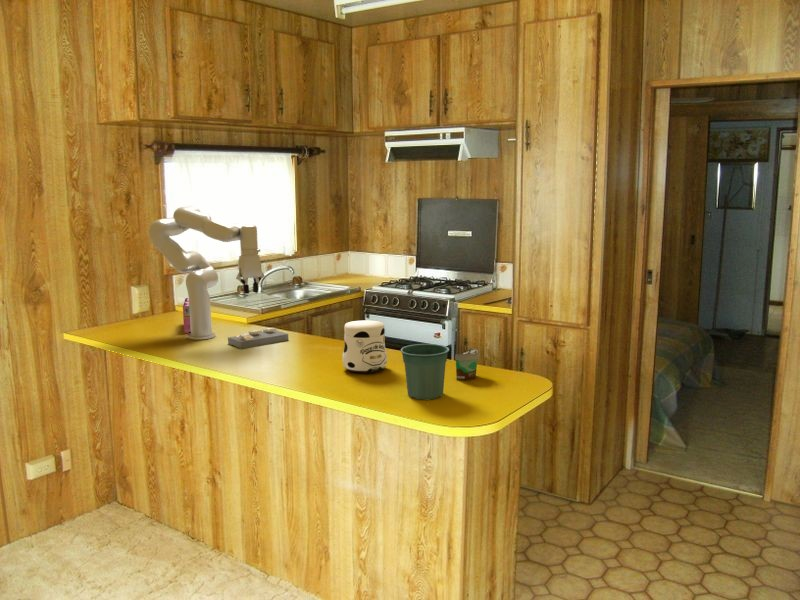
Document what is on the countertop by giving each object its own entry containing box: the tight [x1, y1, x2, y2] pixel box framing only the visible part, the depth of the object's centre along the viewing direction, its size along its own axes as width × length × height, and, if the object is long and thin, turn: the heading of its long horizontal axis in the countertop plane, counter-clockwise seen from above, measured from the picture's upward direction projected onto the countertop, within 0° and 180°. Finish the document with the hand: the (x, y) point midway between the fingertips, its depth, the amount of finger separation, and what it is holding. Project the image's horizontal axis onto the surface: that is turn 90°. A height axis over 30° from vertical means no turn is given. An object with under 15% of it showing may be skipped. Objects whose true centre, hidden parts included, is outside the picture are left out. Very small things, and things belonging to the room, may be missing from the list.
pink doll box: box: [182, 297, 191, 334], centre depth 353 cm, size 24×8×14 cm, turn 13°
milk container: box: [341, 320, 388, 374], centre depth 274 cm, size 17×17×18 cm
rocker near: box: [239, 332, 254, 341], centre depth 315 cm, size 6×4×2 cm, turn 40°
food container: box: [454, 347, 480, 382], centre depth 262 cm, size 12×6×10 cm, turn 148°
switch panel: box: [227, 329, 289, 350], centre depth 322 cm, size 12×24×3 cm, turn 130°
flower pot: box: [400, 343, 450, 401], centre depth 242 cm, size 16×16×16 cm
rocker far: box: [262, 327, 277, 332], centre depth 329 cm, size 6×4×2 cm, turn 40°
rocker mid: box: [247, 329, 263, 334], centre depth 324 cm, size 6×4×2 cm, turn 40°
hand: (251, 292), depth 322 cm, fingers open, 3 cm apart
